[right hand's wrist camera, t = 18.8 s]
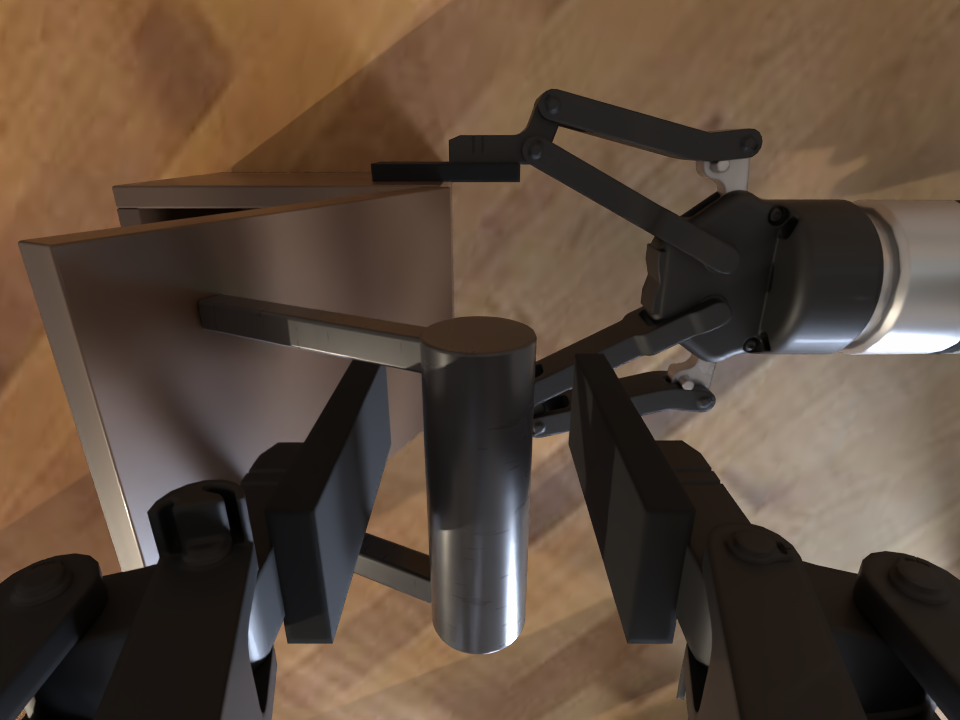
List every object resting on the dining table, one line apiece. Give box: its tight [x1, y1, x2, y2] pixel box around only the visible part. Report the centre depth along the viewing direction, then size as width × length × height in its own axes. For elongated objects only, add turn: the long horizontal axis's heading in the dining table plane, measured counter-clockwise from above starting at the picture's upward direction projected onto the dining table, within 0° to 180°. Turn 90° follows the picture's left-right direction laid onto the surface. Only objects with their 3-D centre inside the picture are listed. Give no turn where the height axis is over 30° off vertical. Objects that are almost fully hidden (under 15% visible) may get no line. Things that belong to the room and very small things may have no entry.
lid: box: [18, 186, 536, 654], centre depth 16 cm, size 14×9×9 cm
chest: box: [112, 172, 454, 318], centre depth 28 cm, size 13×9×10 cm
